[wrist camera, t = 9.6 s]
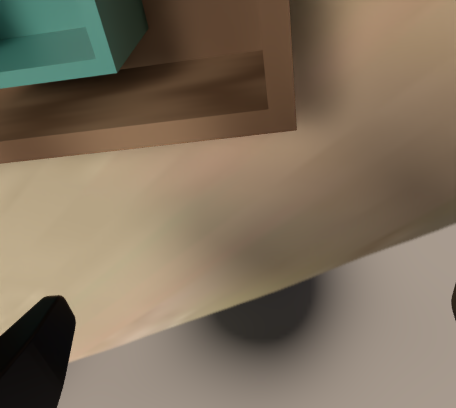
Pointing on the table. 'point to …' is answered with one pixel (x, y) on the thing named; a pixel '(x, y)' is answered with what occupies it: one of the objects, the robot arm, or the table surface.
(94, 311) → the table surface
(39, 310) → the robot arm
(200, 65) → the box
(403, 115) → the table surface
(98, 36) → the teal crate
